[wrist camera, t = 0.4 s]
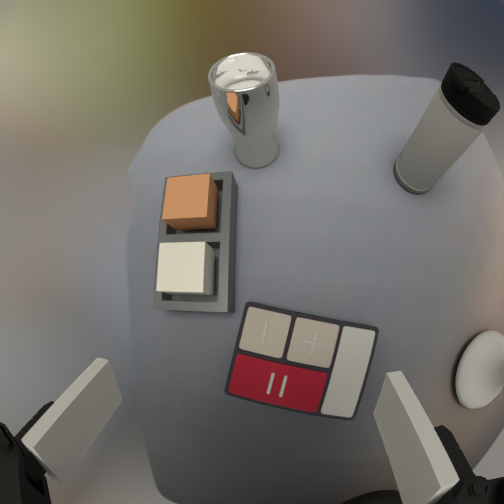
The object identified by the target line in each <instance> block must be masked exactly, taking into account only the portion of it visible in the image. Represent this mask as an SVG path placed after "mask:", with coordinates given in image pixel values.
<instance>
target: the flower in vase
mask: <svg viewBox="0 0 504 504" xmlns="http://www.w3.org/2000/svg"><path fill="white" fill-rule="evenodd" d="M455 385H456V394H457V397H458V400H459V402H460V403H461V404H462V405H463V406H464V407H466V408H469V409H476V408H480V407H483V406H485V405H487V404H488V403H490V402H491V401H492V400H493V399H494V398H495V397H496V396H497V395H498V394H499V393H500V391H501V390H502V388H503V386H504V336H503V335H502V334H500V333H499V332H497V331H495V330H487V331H484V332H482V333H480V334H479V335H478V336H476V337H475V338H474V339H473V340H472V342H471V343H470V344H469V345H468V347H467V348H466V350H465V351H464V353H463V355H462V357H461V359H460V362H459V365H458V368H457V373H456V381H455Z"/></svg>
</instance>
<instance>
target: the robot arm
mask: <svg viewBox="0 0 504 504" xmlns="http://www.w3.org/2000/svg"><path fill="white" fill-rule="evenodd" d="M121 401H122V398H121V395H120V392H119V389H118V386H117V384H116V380H115V378H114V375H113V371H112V368H111V365H110V362H109V360H106V359H101V358H96V360H95V361H94V362H93V363H92V364H91V365H90V366H89V367H88V368H87V369H86V370H85V371H84V372H83V373H82V374H81V375H80V376H79V377H78V378H77V379H76V380H75V381H74V382H73V383H72V384H71V385H70V387H69V388H68V389H67V390H66V391H65V392H64V393H63V394H62V395H61V396H60V397H59V398H58V400H56V402H53V401H51V402H49V403H48V404H46V405H44V406H43V407H42V408H41V409H40V410H39V411H38V412H37V414H35V415H34V416H33V419H31V420H30V421H29V422H28V423H27V424H26V425H25V426H24V427H23V428H22V429H21V431H20V432H19V433H18V434H17V435H16V436H15V437H13V435H12V434H11V433H10V431H9V430H8V428H7V427H6V425H5V424H3V423H0V504H51V500H50V495H49V490H48V484H47V480H46V477H45V476H44V474H45V473H46V472H47V473H48V474H49V475H50V476H51V478H52V479H54V480H55V481H57V482H59V483H61V484H62V485H64V486H66V485H67V483H68V481H69V480H70V478H71V477H72V475H73V474H74V472H75V471H76V469H77V467H78V466H79V464H80V463H81V461H82V460H83V458H84V456H85V455H86V454H87V452H88V451H89V449H90V448H91V446H92V445H93V443H94V442H95V440H96V438H97V437H98V436H99V434H100V433H101V431H102V430H103V428H104V427H105V425H106V424H107V422H108V420H109V419H110V418H111V416H112V415H113V413H114V412H115V410H116V409H117V408H118V406H119V405H120V403H121ZM373 415H374V418H375V420H376V423H377V426H378V429H379V432H380V434H381V437H382V440H383V443H384V446H385V449H386V452H387V455H388V458H389V461H390V464H391V467H392V470H393V473H394V476H395V480H396V483H397V486H398V490H399V492H398V491H379V492H373V493H369V494H366V495H362V496H360V497H357V498H354V499H352V500H350V501H348V502H346V503H344V504H504V477H500V478H496V479H491V480H487V479H486V478H484V477H482V476H475V474H474V473H473V471H472V469H471V467H470V465H469V463H468V461H467V460H466V458H465V456H464V454H463V452H462V450H461V449H460V447H459V445H458V443H457V442H456V439H455V438H454V436H453V434H452V432H451V431H450V430H448V429H447V428H446V427H445V426H443V425H441V426H438V427H435V428H433V426H432V424H431V422H430V420H429V418H428V417H427V415H426V413H425V411H424V409H423V408H422V406H421V404H420V402H419V401H418V399H417V397H416V395H415V394H414V392H413V390H412V388H411V387H410V385H409V383H408V382H407V380H406V378H405V377H404V375H403V373H402V372H401V371H396V372H388V373H386V376H385V380H384V383H383V386H382V389H381V392H380V396H379V399H378V402H377V404H376V407H375V410H374V413H373Z"/></svg>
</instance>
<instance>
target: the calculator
mask: <svg viewBox="0 0 504 504" xmlns="http://www.w3.org/2000/svg"><path fill="white" fill-rule="evenodd" d="M378 332H379V330H378V328H377V327H374V326H368V325H362V324H356V323H351V322H345V321H340V320H335V319H329V318H324V317H319V316H314V315H309V314H304V313H299V312H294V311H290V310H285V309H280V308H276V307H271V306H267V305H262V304H258V303H253V302H247V303H246V305H245V309H244V313H243V317H242V321H241V325H240V329H239V334H238V338H237V342H236V346H235V350H234V354H233V358H232V362H231V366H230V371H229V375H228V379H227V383H226V387H225V393H226V394H227V395H230V396H234V397H237V398H241V399H244V400H248V401H252V402H256V403H260V404H264V405H268V406H272V407H276V408H281V409H285V410H290V411H295V412H300V413H306V414H311V415H317V416H323V417H330V418H337V419H344V420H353V419H354V418H355V416H356V413H357V410H358V407H359V404H360V401H361V397H362V394H363V391H364V388H365V384H366V381H367V377H368V373H369V370H370V366H371V362H372V358H373V354H374V350H375V346H376V341H377V337H378Z"/></svg>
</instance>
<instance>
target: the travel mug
mask: <svg viewBox="0 0 504 504" xmlns="http://www.w3.org/2000/svg"><path fill="white" fill-rule="evenodd" d="M483 82H484V80H483V79H482V78H481V77H479V75H477V74H476V73H475V72H474V71H472V70H470V69H469V68H468V67H466V66H464V65H462V64H460V63H456V62H454V63H452V64H451V65H450V67H449V69H448V71H447V73H446V75H445V78H444V79H443V81H442V82H441V83H440V86H439V88H438V89H437V91H436V93H435V95H434V97H433V98H432V100H431V102H430V104H429V106H428V108H427V109H426V111H425V113H424V115H423V116H422V118H421V120H420V122H419V123H418V125H417V127H416V129H415V130H414V132H413V134H412V135H411V137H410V139H409V140H408V142H407V144H406V145H405V147H404V149H403V150H402V152H401V154H400V155H399V157H398V158H397V160H396V162H395V164H394V173H395V176H396V179H397V181H398V182H399V183H400V185H401V186H402V187H403V188H404V189H406V190H407V191H409V192H411V193H414V194H423V193H425V192H426V191H428V190H429V189H430V188H431V187H432V186H433V185H434V184H435V183H436V181H437V180H438V179H439V178H440V177H441V176H442V175H443V174H444V173H445V172H446V171H447V170H448V169H449V168H450V167H451V166H452V165H453V164H454V163H455V161H456V160H457V159H458V158H459V157H460V156H461V155H462V154H463V153H464V152H465V151H466V149H467V148H468V147H469V146H470V145H471V144H472V143H473V142H474V140H475V139H476V138H477V137H478V136H479V135H480V133H481V132H482V131H483V130H484V129H485V127H486V126H487V125H488V124H489V122H490V121H491V119H492V118H493V117H494V116H495V114H496V113H497V112H498V111H499V109H500V104H499V101H498V99H497V97H496V95H493V93H492V92H491V90H490V89H489V88H488V87H487V86H486V84H484V83H483Z"/></svg>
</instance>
